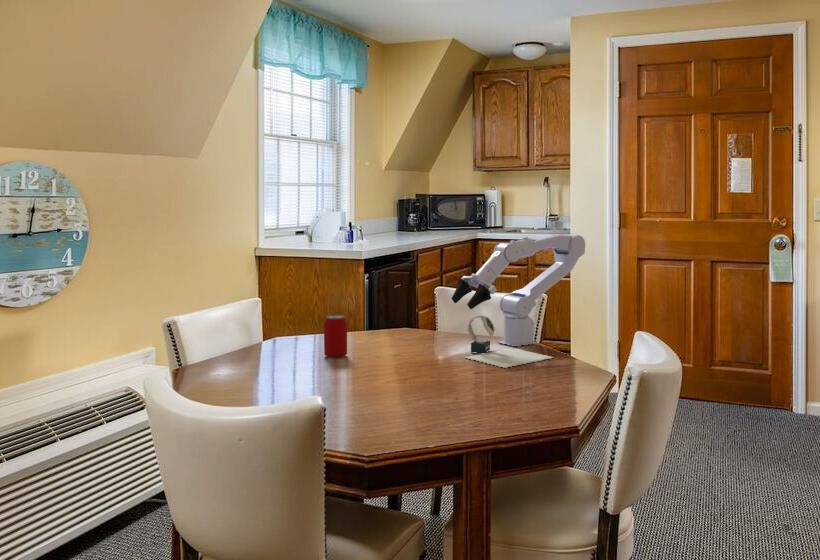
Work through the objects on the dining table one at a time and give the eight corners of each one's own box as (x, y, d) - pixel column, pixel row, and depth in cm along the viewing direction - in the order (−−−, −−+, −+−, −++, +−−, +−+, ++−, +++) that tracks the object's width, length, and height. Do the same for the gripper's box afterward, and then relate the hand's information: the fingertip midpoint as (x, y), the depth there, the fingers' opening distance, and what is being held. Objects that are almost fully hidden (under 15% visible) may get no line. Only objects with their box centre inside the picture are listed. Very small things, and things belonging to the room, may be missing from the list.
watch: (490, 355, 220) (491, 318, 219) (465, 352, 223) (465, 316, 222) (496, 351, 225) (496, 315, 224) (471, 349, 228) (471, 314, 227)
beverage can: (349, 354, 221) (348, 314, 219) (344, 359, 214) (344, 318, 213) (326, 353, 221) (326, 314, 220) (322, 358, 215) (321, 318, 213)
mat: (513, 349, 227) (513, 348, 227) (553, 358, 214) (553, 357, 214) (465, 358, 215) (465, 357, 215) (505, 368, 202) (505, 366, 202)
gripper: (468, 259, 232) (440, 289, 228) (499, 268, 220) (470, 300, 217) (478, 274, 236) (451, 304, 232) (509, 284, 224) (481, 316, 220)
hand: (461, 303), depth 224 cm, fingers open, 7 cm apart
